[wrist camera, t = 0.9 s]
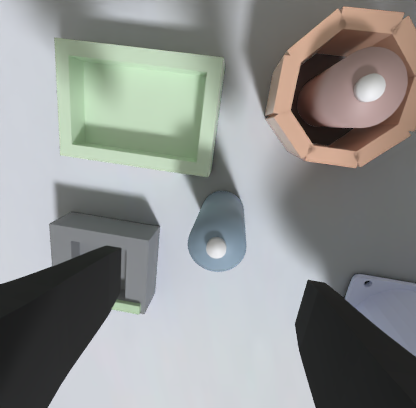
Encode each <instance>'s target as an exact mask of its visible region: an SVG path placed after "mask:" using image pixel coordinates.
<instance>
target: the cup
mask: <svg viewBox="0 0 416 408" xmlns="http://www.w3.org/2000/svg"><path fill="white" fill-rule="evenodd" d="M403 16H404V12H394V11H384V10H374V9H364V8H354V7H345V6H343V7H342V9H341V10H340V11H339V9H337V10H335V11H334V12H333V13H332V14H330V15H329V16H328V17H327V18H326V19H324V20H323V21H322V22H321V23H320V24H318V25H317V26H316V27H315V28H314V29H312V30H311V31H310V32H309V33H307V34H306V35H305V36H304V37H303V38H301V39H300V40H299V41H298V42H297V43H295V44H294V45H293V46H292V47H290V48H289V49H288V50H287V51H286V53H285V54H284V56H283V57H282V59H281V60H280V62H279V63H278V65H277V66H276V68H275V70H274V71H273V74H272V79H271V84H270V90H269V95H268V100H267V106H266V111H265V116H269V117H268V118H266V119H265V120H266V121H267V122H268V124H269V125H270V127H271V128H272V130H273V131H274V133H275V134H276V136H277V137H278V139H279V140H280V141H281V143H282V144H283V146H284V147H285V149H286V150H287V151H288V152H290V153H291V154H293V155H295V156H297V157H299V158H301V159H302V160H304V161H308V162H315V163H322V164H330V165H337V166H344V167H351V168H356V167H357V166H359V167H362V166H363V165H365V164H367V163H368V162H370V161H371V160H373V159H375V158H376V157H378V156H379V155H381V154H383V153H384V152H386V151H387V150H389V149H390V148H392V147H394V146H395V145H397V144H398V143H400V142H402V141H403V140H405V139H406V138H408V137H410V136H411V135H410V133H409V131H415V129H416V28H415V26H414V25H413V23H412V21H411V19H410V17H409V16H407V17H405V18H404V19H403ZM367 47H382V48H386V49H389V50H391V51H393V52H394V53H396V54H397V55H398V56H399V57H400V58H401V60H402V61H403V63H404V65H405V67H406V70H407V76H408V84H407V90H406V93H405V96H404V98H403V100H402V102H401V104H400V105H399V107H398V108H397V110H396V111H395V112H394V113H393V114H392V115H391V116H390V117H388V118H387V119H386V120H384V121H383V122H381V123H379V124H377V125H374V126H371V127H366V128H354V129H352V130H351V131H349V132H348V133H346V134H345V135H343V136H342V137H340V138H339V139H337V140H336V141H334V142H333V143H331V144H330V145H323V144H316V143H312V142H311V141H310V139H309V138H308V136H307V135H306V133H305V132H304V130H303V128H302V127H301V125H300V124H299V122H298V121H297V119H296V118H295V116H294V115H293V113H292V112H291V106H292V102H293V97H294V92H295V88H296V83H297V78H298V74H299V69H300V66H301V65H302V64H303V63H305V62H306V61H307V60H308V59H310V58H311V57H312V56H313V55H315V54H316V53H317V54H326V55H335V56H343V57H347V56H349V55H350V54H352V53H354V52H356V51H358V50H360V49H363V48H367Z"/></svg>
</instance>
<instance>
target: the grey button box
mask: <svg viewBox="0 0 416 408" xmlns="http://www.w3.org/2000/svg"><path fill="white" fill-rule="evenodd" d="M49 228H50V242H51V256H52V266H55V265H57V264H60V263H62V262H65V261H67V260H70V259H72V258H75V257H77V256H79V255H82V254H84V253H87V252H89V251H92V250H94V249H97V248H100V247H103V246H106V245H108V246H113V247H119V248H122V251H121V291H120V294H119V296H118V298H117V300H116V302H115V304H114V306H113V308H112V310H117V311H123V312H128V313H133V314H140V313H141V314H145V312H146V310H147V308H148V306H149V304H150V302H151V300H152V298H153V296H154V294H155V285H156V272H157V258H158V245H159V232H160V226H154V225H148V224H142V223H136V222H130V221H124V220H118V219H112V218H105V217H99V216H93V215H87V214H81V213H75V212H71V213H69V214H67V215H65V216H63V217H61V218H59V219H58V220H56V221H54V222H52V223H50V224H49Z"/></svg>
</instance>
